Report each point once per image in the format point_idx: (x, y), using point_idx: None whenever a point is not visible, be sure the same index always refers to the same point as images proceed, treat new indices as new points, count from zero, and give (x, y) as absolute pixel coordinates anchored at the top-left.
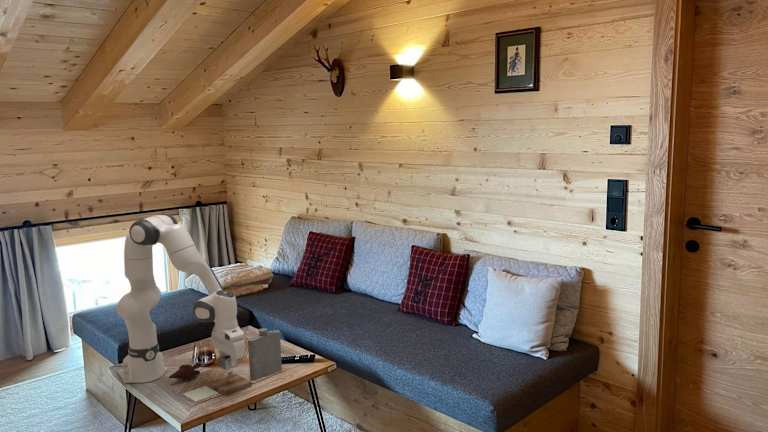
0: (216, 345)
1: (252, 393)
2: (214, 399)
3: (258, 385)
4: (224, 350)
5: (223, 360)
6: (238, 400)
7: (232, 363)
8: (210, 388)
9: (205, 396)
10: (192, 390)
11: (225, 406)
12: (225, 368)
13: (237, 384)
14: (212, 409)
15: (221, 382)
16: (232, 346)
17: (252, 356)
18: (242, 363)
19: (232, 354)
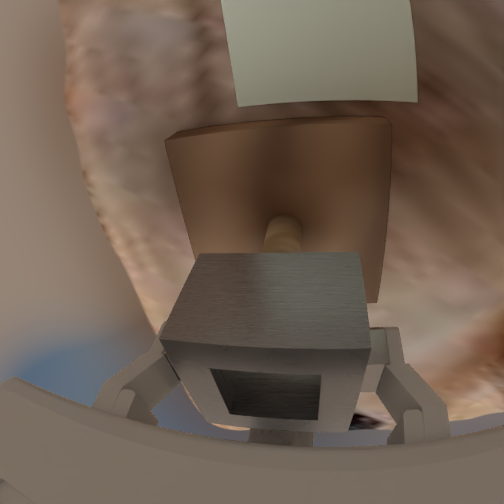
0: (473, 492)
1: (133, 249)
2: (174, 57)
3: None
4: (204, 482)
5: (209, 334)
6: (92, 167)
7: (158, 345)
8: (349, 99)
9: (240, 17)
10: (409, 2)
11: (65, 90)
12: (198, 264)
13: (218, 240)
14: (70, 25)
15: (328, 183)
16: (7, 501)
17: (250, 439)
18: (464, 356)
19: (30, 419)
